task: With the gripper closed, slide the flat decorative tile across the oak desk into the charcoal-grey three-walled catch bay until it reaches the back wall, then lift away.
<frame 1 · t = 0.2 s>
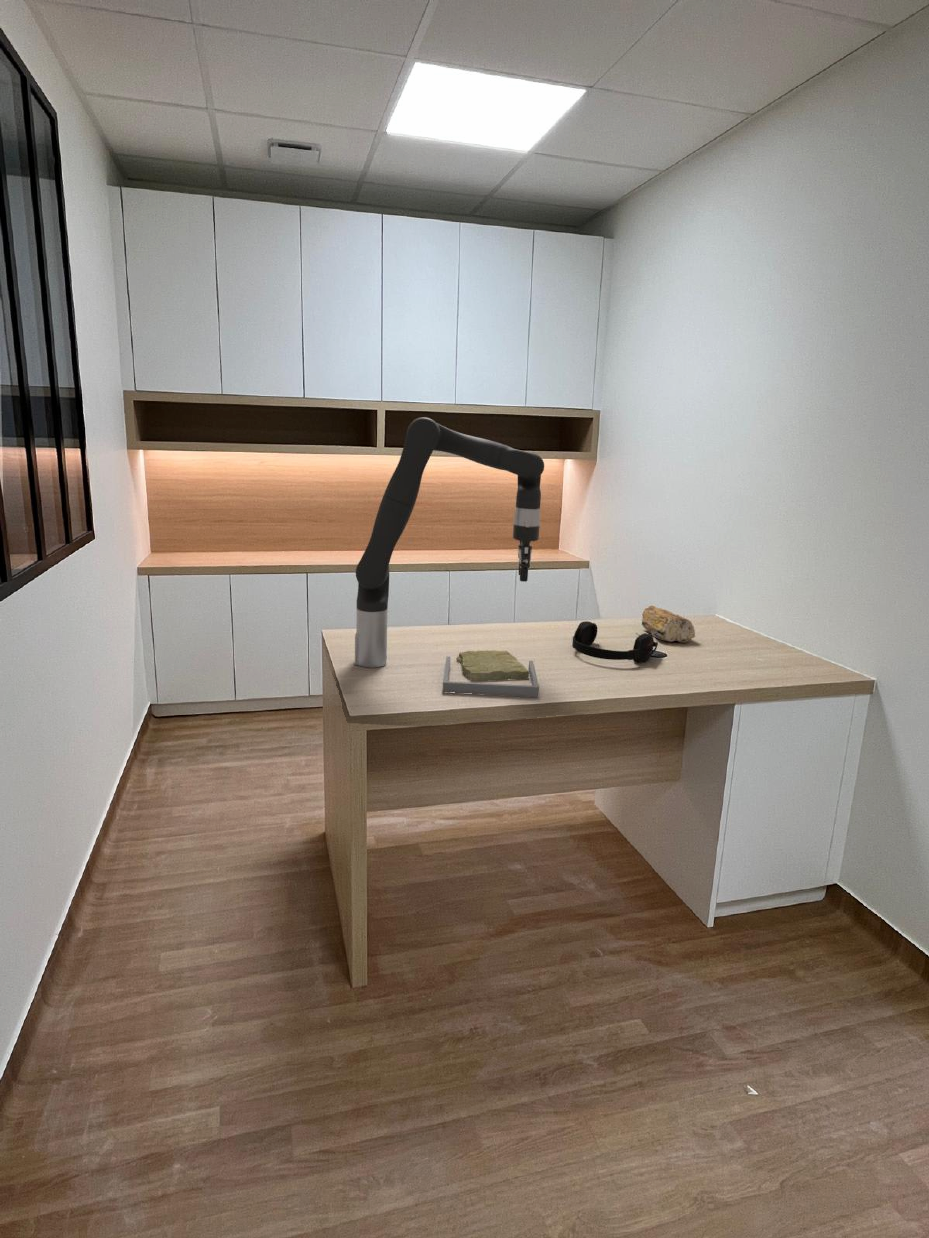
hand: (522, 578, 219), 28 cm above the table, tool pointing down, fingers open, 8 cm apart
petrified wood: (665, 637, 270), on the table
headset: (614, 655, 246), on the table
decorative tile: (489, 671, 225), on the table
catch bay: (489, 680, 216), on the table
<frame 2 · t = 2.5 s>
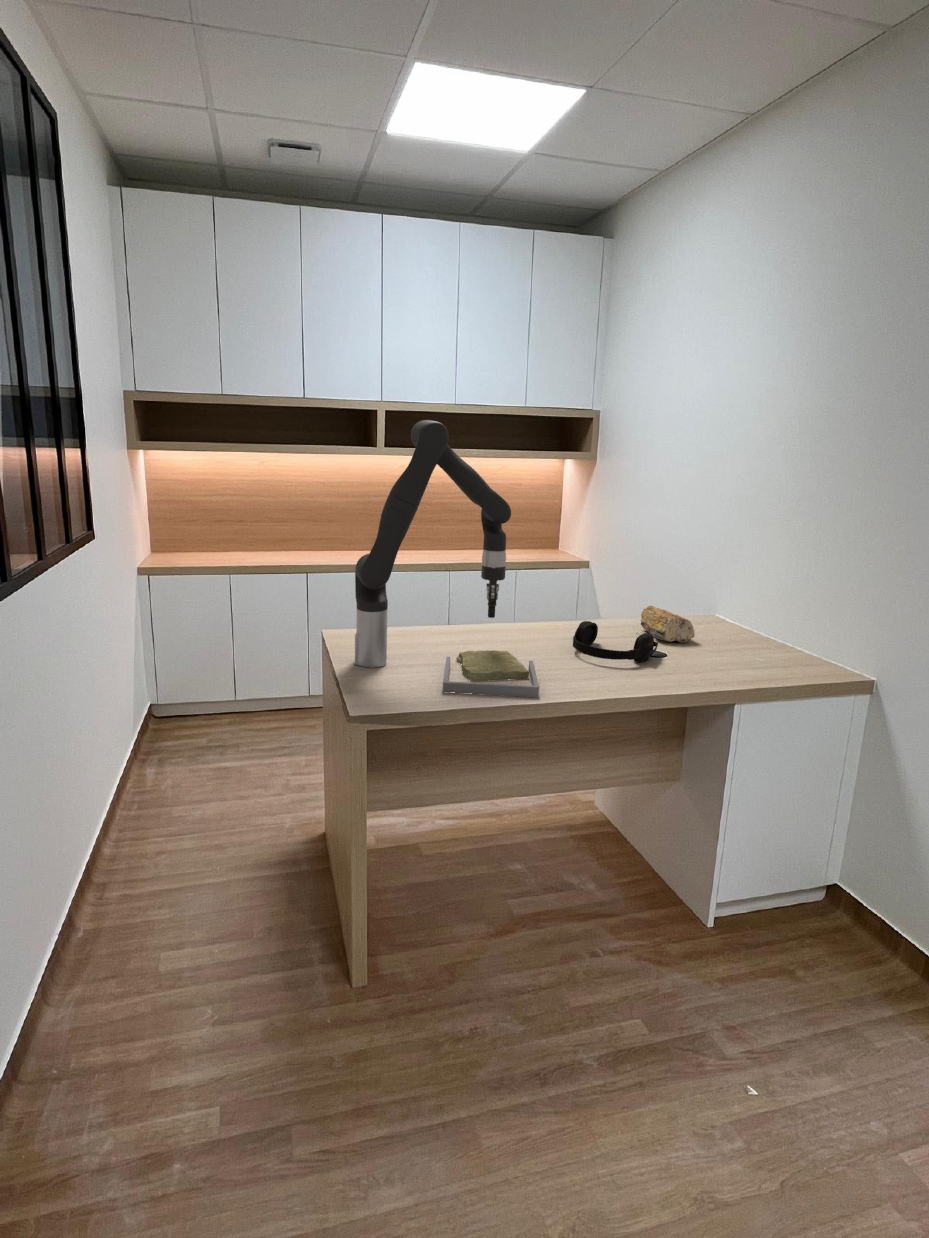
hand: (491, 617, 237), 12 cm above the table, tool pointing down, fingers closed
nothing on the table moved.
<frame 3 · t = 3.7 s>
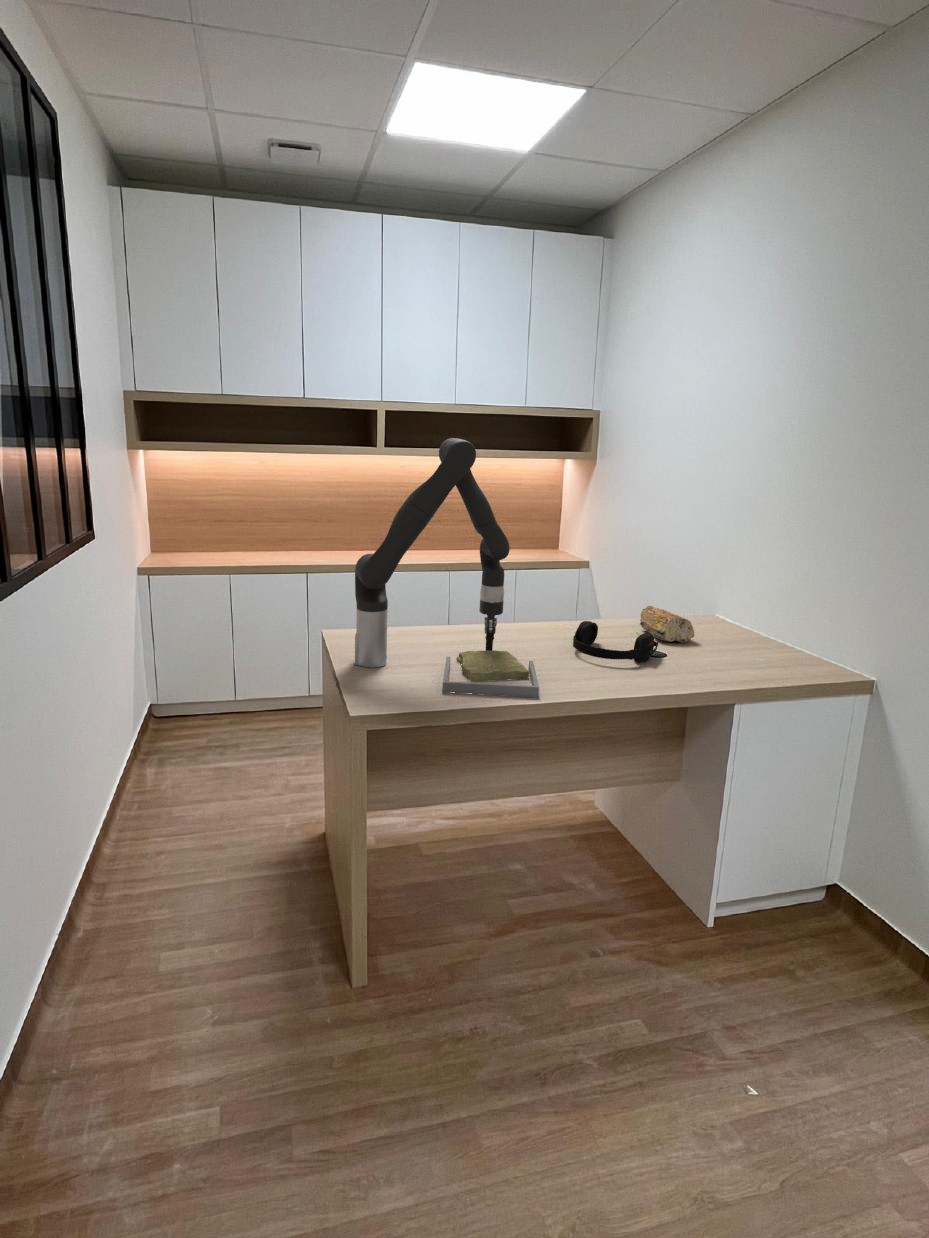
hand: (488, 650, 239), 1 cm above the table, tool pointing down, fingers closed
nothing on the table moved.
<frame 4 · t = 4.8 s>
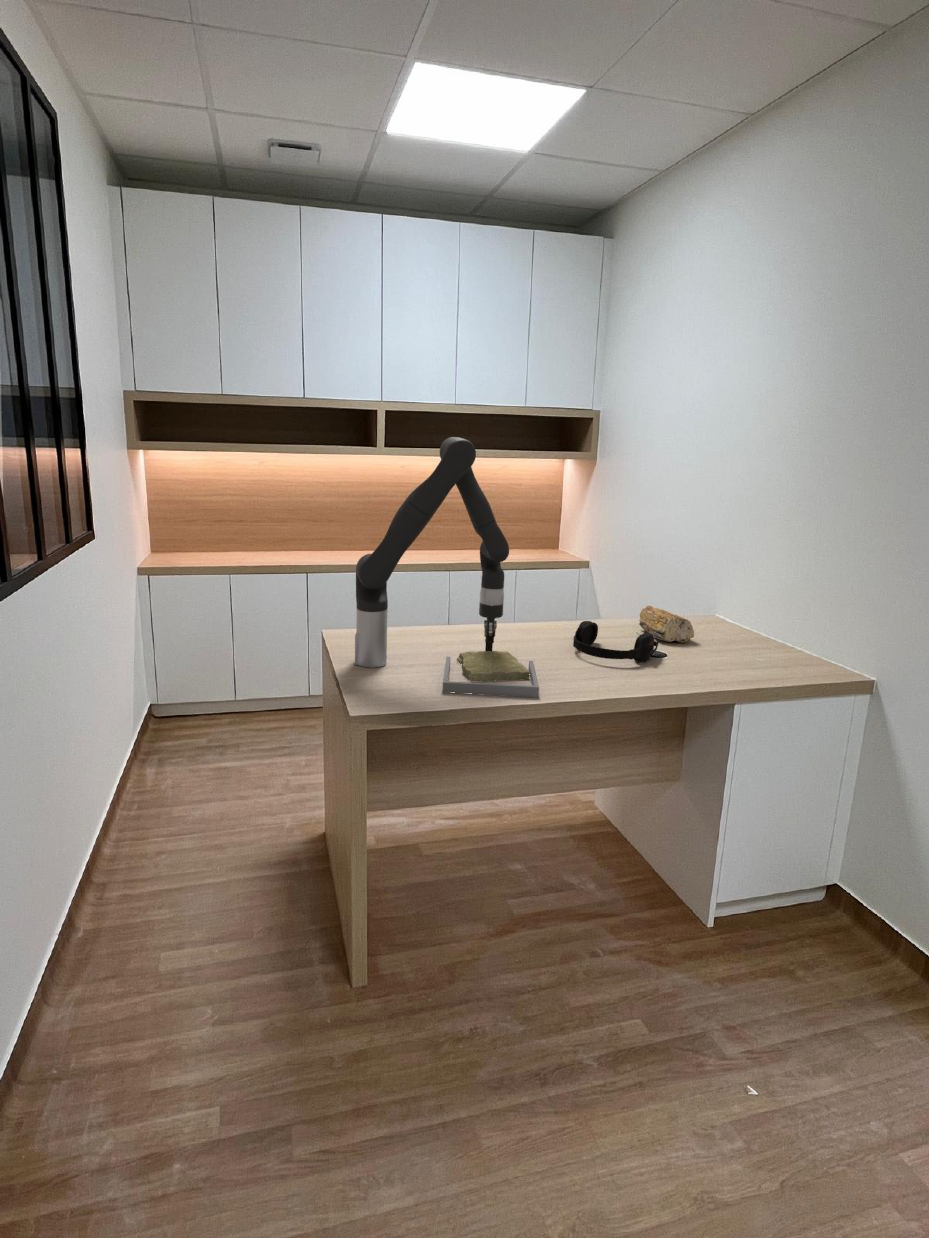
hand: (488, 653, 236), 1 cm above the table, tool pointing down, fingers closed
decorative tile: (489, 671, 225), on the table, touching gripper
everything else where it was.
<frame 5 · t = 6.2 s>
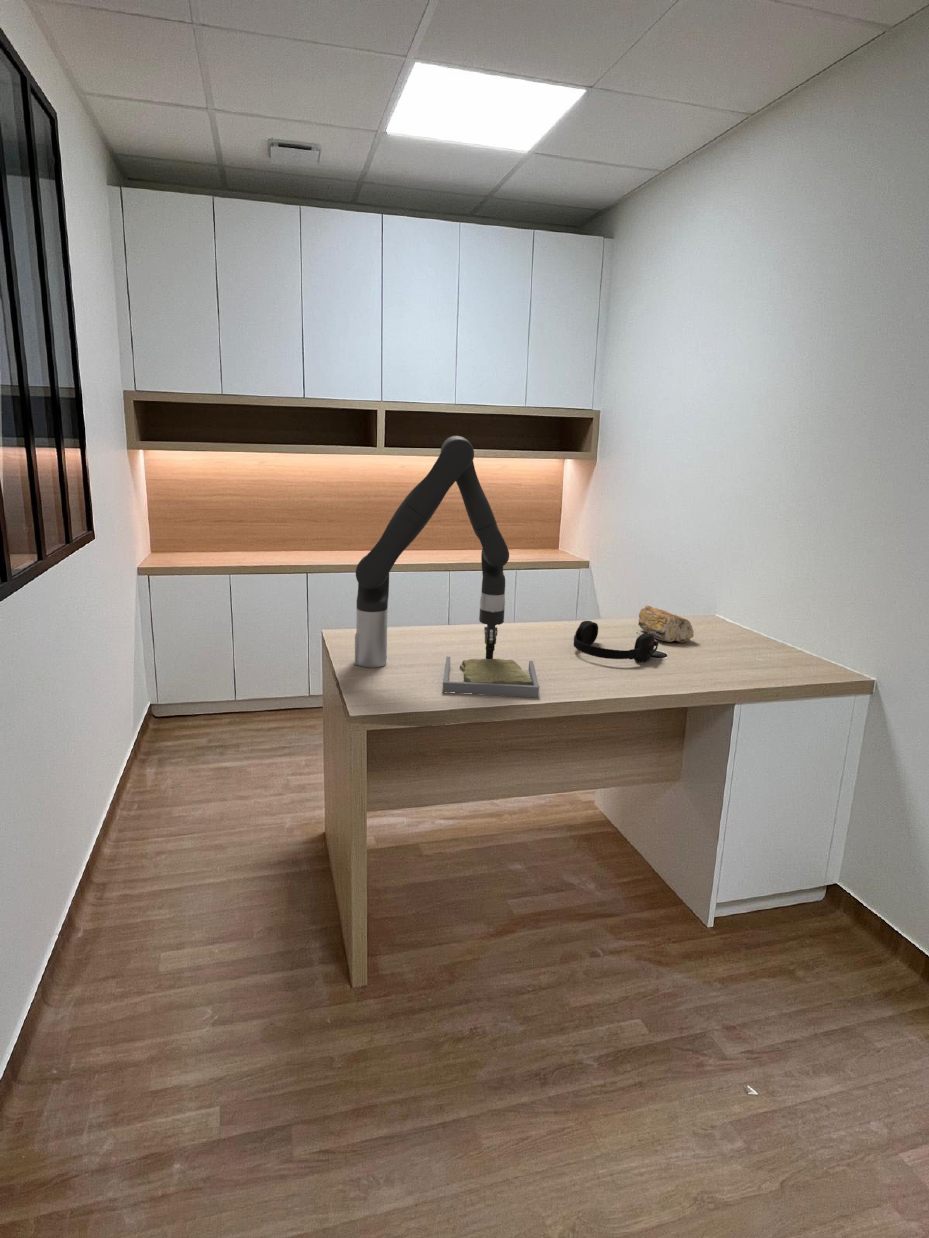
hand: (489, 661, 228), 1 cm above the table, tool pointing down, fingers closed
decorative tile: (492, 680, 218), on the table, touching gripper
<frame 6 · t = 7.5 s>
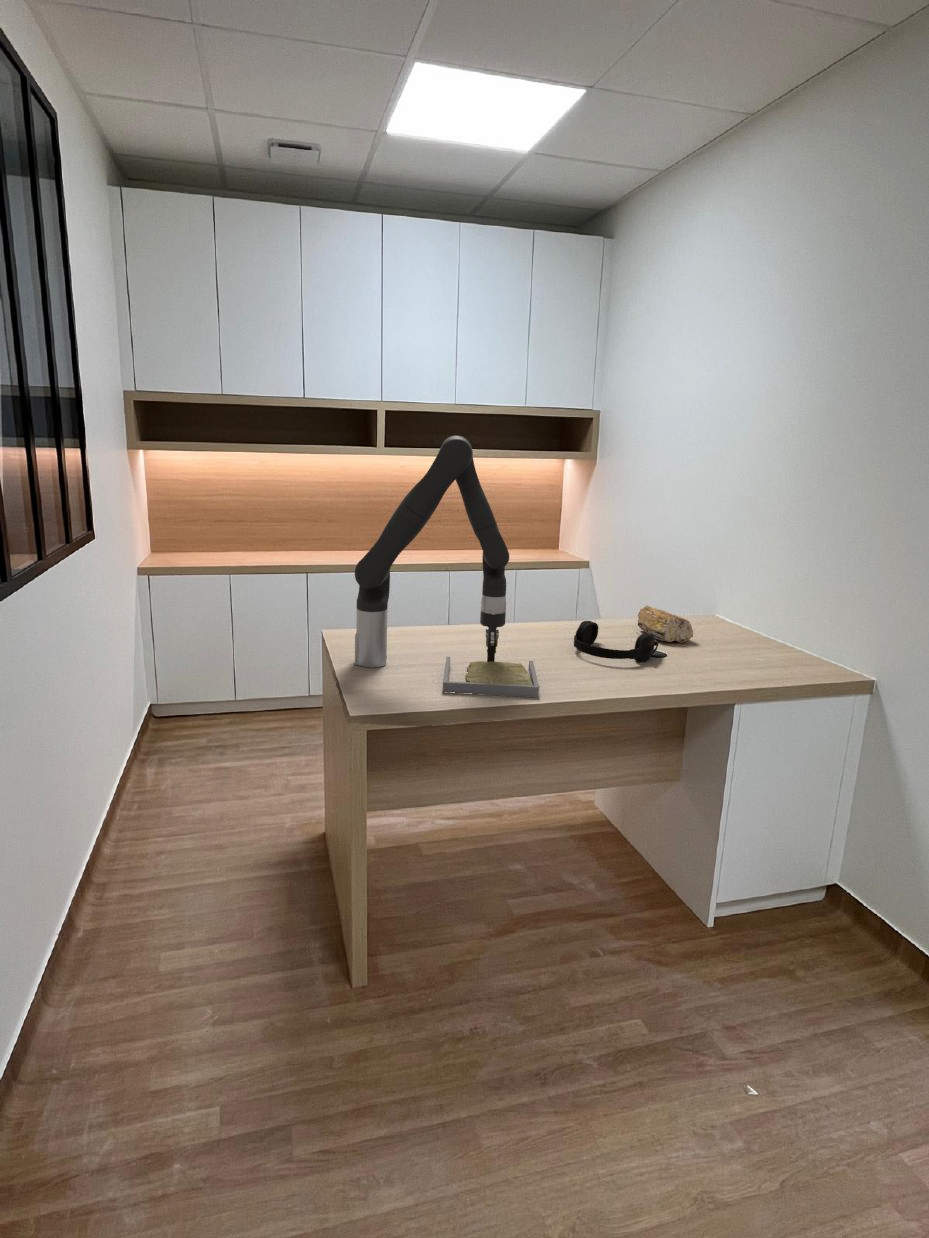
hand: (490, 664, 225), 1 cm above the table, tool pointing down, fingers closed
decorative tile: (496, 683, 215), on the table, touching gripper
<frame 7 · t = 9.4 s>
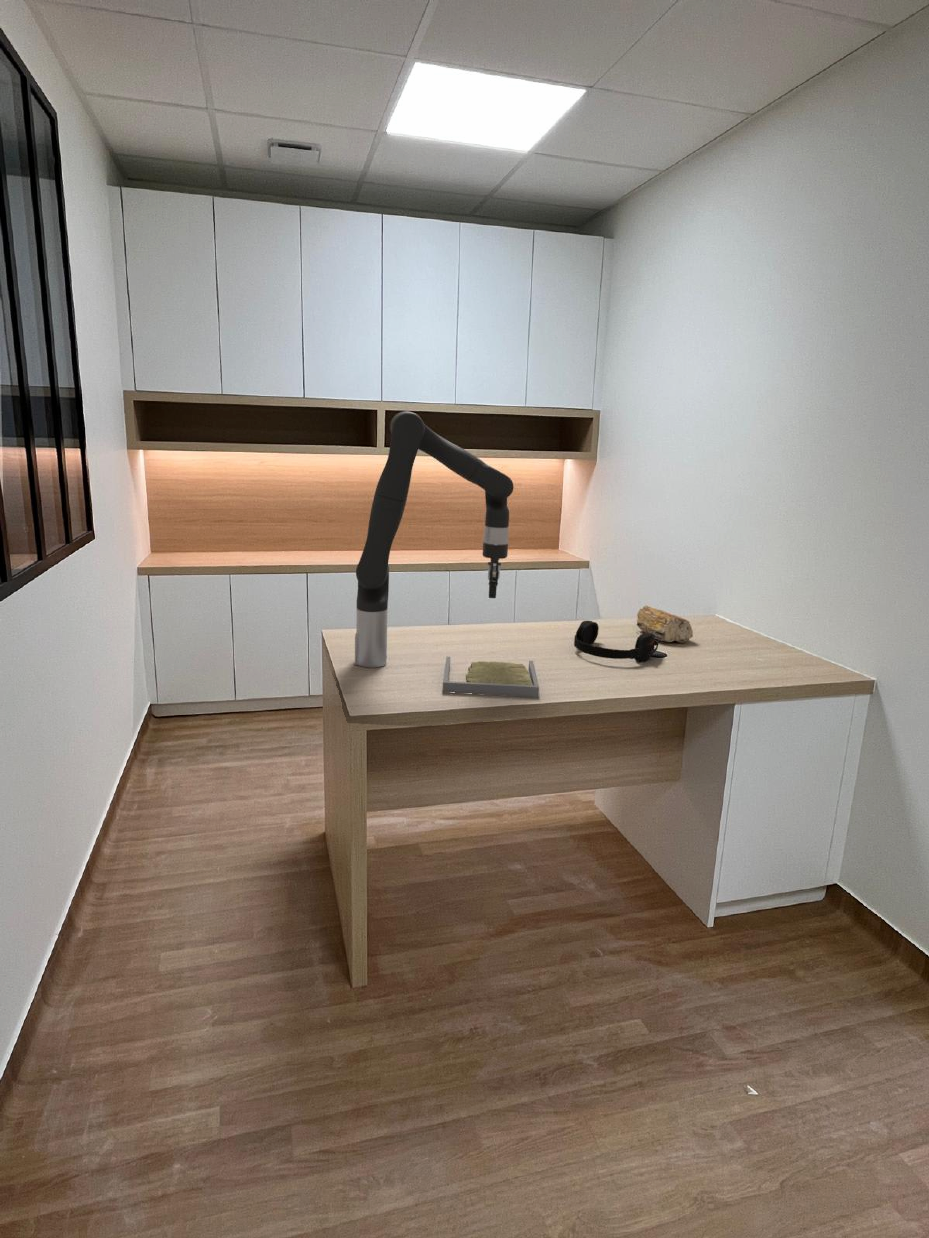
hand: (492, 597, 226), 21 cm above the table, tool pointing down, fingers closed
decorative tile: (496, 684, 215), on the table
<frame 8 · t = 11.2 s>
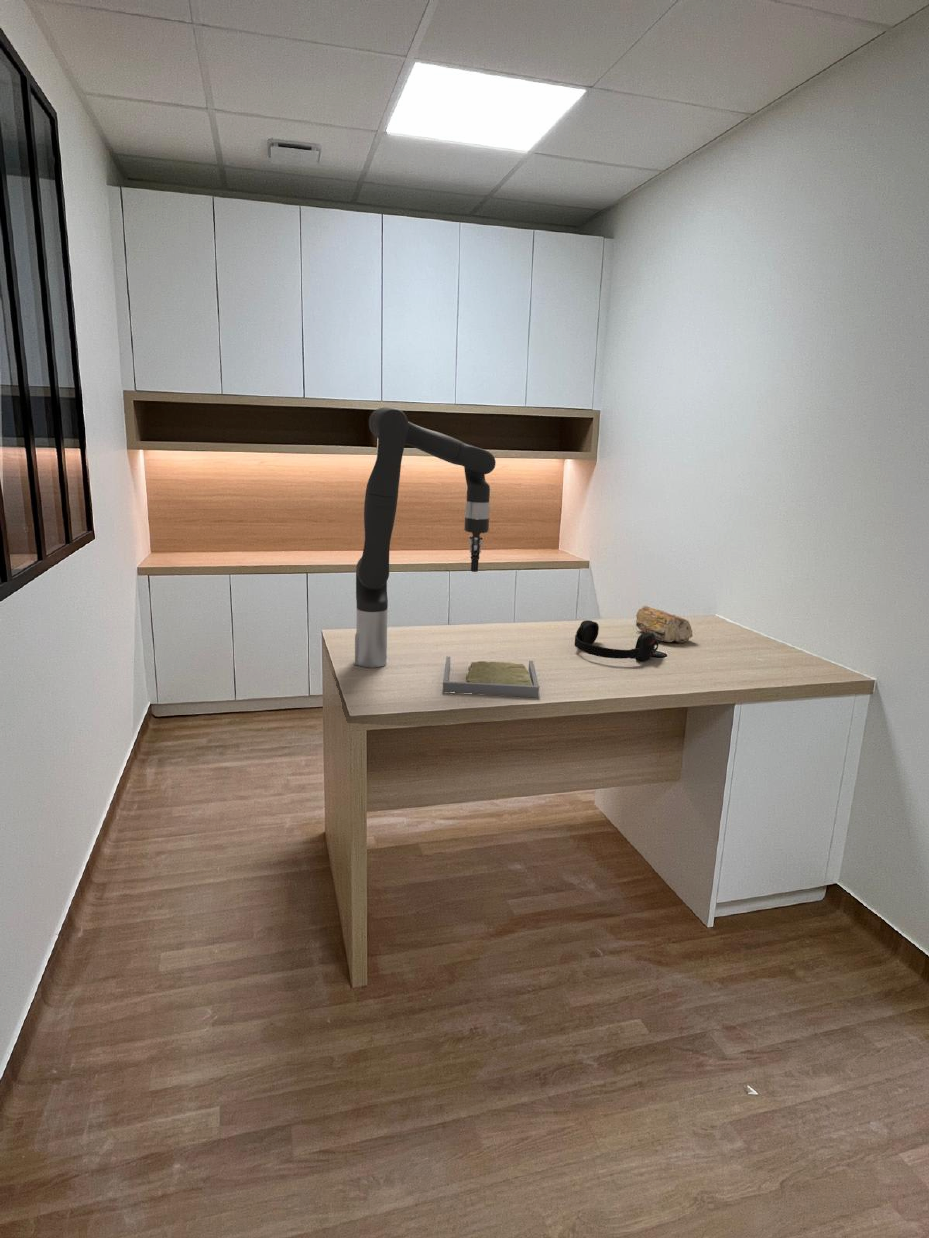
hand: (474, 571, 233), 27 cm above the table, tool pointing down, fingers closed
at the end: decorative tile inside the target area (2.1 cm from its centre), on the table; decorative tile moved 11.1 cm from its start; the gripper is holding nothing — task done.
